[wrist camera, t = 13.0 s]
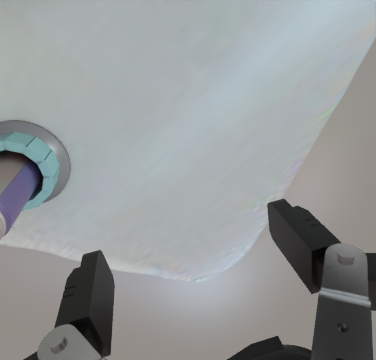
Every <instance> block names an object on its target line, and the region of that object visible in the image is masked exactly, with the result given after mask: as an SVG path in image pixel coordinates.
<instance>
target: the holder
mask: <svg viewBox="0 0 376 360" xmlns="http://www.w3.org/2000/svg"><path fill="white" fill-rule="evenodd" d="M7 150H9V151H13V152H18V153H23V154H24V155H26V156H27V157H29V158H30V159H31V160H33V161H34V162H35V163H37V165H38V167H39V169H40V171H41V173H42V175H43V177H42V179H41V180H40V182H39V184H38V185H37V187H36V188H35V190H34V192H33V193H32V195H31V196H30V198H29V200H28V201H27V203H26V204H25V206H24V208H23V209H22V211H23V210H27V209H30V208H34V207H38V206H39V205H40V204H41V203H44V202H47V201H49V200H51V199H53V198H54V197H56V196H57V195H58V194H59V193H60V192H61V191H62V190H63V189H64V187H65V186H66V184H67V182H68V179H69V176H70V170H71V165H70V159H69V156H68V153H67V151H66V149H65V147H64V146H63V144H62V143H61V142H60V141H59V139H58V138H57V137H56V136H54V135H53V134H52V133H51V132H49V131H48V130H46V129H45V128H43V127H41V126H38V125H36V124H33V123H30V122H26V121H18V120H10V121H3V122H0V155H1V154H2V153H4V152H5V151H7Z"/></svg>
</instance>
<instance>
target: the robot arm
mask: <svg viewBox="0 0 376 360" xmlns="http://www.w3.org/2000/svg"><path fill="white" fill-rule="evenodd" d="M267 207H268V219H269V229H270V233H271V236H272V238H273V240H274V242H275V243H276V245H277V246H278V248H279V249H280V250H281V252H282V253H283V255H284V256H285V257H286V259H287V260H288V262H289V263H290V264H291V266H292V267H293V269H294V270H295V271H296V273H297V274H298V276H299V277H300V278H301V280H302V281H303V283H304V284H305V285H306V287H307V288H308V290H309V291H310V292H311V294H313V293H317V292H319V297H318V305H317V313H316V321H315V328H314V336H313V344H312V351H311V350H309V349H306V348H303V347H299V346H295V345H282V343H281V341H280V339H279V337H278V336H276V337H272V338H269V339H266V340H263V341H260V342H257V343H253V344H251V345H249V346H248V347H246V348H244V349H243V350H241V351H240V352H238V353H237V354H235V355H234V356H232V357H231V358H229V359H227V360H373V347H372V320H371V310H375V311H376V253H364V252H363V251H362V250H361V249H360V248H358V247H356V246H354V245H350V244H344V243H341V242H340V241H339V240H338V239H337V238H336V237H335V236H334V235H333V234H332V233H331V232H330V231H329V230H328V229H327V228H326V227H325V226H324V225H322V224H321V223H320V222H319V221H318V220H317V219H315V217H314V216H313V215H312V214H311V213H310V212H309V211H308V210H306V209H304V208H301V207H299V206H295V207H292V206H291V205H290V204H289V203H288V202H287V201H286V200H285V199H281V200H277V201H273V202H270V203H268V206H267ZM114 288H115V286H114V279H113V275H112V273H111V270H110V268H109V266H108V264H107V262H106V259H105V257H104V255H103V253H102V251H101V250H98V251H94V252H91V253H87V254H84V255H83V257H82V261H81V266H80V267H79V268H75V269H74V270H73V271H72V273H71V274H70V275H69V277H68V278H67V282H66V286H65V290H64V293H63V299H62V301H61V304H60V308H59V312H58V316H57V320H56V324H55V328H54V329H53V330H52V331H50V332H49V333H48V334H47V335H46V336H45V337H44V338H43V340H42V341H41V343H40V345H39V347H38V351H37V352H35V353H34V354H32V355H31V356H29V357H27V358H26V359H24V360H107V359H106V358H105V357H106V356H109V355H110V353H111V338H112V321H113V305H114Z"/></svg>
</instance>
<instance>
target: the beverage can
mask: <svg viewBox="0 0 376 360" xmlns="http://www.w3.org/2000/svg"><path fill="white" fill-rule="evenodd" d="M42 177H43V175H42V173H41V171H40V169H39V167H38V165H37V163H35V162H34V161H33V160H31V159H30V158H29V157H27V156H26V155H24V154H23V153H18V152H13V151H9V150H7V151H5V152H4V153H2V154H1V155H0V239H1V238H2V237H4V236H5V235H6V234H7V233H8V231H9V230H10V228H11V227H12V225H13V223H14V222H15V220H16V219H17V217H18V216H19V214H20V212H21V211H22V209H23V208H24V206H25V204H26V203H27V201H28V200H29V198H30V196H31V195H32V193H33V192H34V190H35V188H36V187H37V185H38V184H39V182H40V180H41V179H42Z"/></svg>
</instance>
